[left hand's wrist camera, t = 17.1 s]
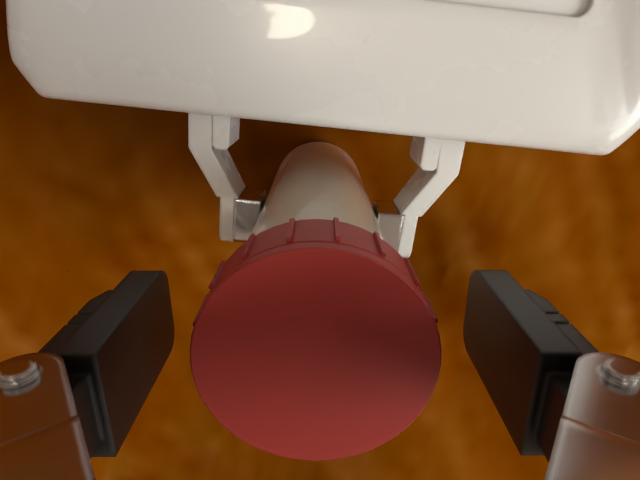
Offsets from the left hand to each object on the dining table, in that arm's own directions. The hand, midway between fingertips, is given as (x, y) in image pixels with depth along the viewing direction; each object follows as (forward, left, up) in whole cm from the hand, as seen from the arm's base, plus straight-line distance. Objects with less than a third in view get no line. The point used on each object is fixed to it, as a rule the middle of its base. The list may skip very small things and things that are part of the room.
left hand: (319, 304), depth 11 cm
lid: (0, 0, +2) cm, 2 cm away
